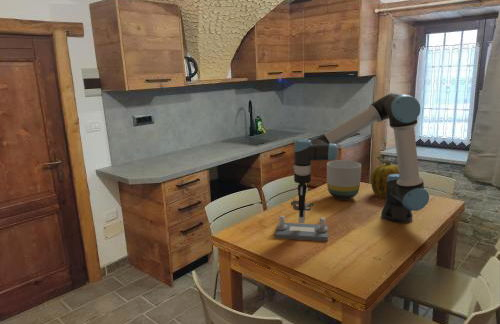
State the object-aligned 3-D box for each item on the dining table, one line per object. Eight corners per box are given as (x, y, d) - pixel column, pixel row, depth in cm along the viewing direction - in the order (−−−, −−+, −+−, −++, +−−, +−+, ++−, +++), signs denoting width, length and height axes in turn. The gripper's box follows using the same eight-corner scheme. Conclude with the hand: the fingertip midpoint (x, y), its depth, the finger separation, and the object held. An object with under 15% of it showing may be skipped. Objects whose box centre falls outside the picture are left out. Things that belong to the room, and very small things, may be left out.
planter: (363, 203, 218) (365, 167, 213) (329, 204, 219) (330, 168, 213) (354, 193, 237) (356, 159, 232) (323, 193, 237) (324, 160, 232)
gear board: (327, 228, 186) (327, 213, 184) (327, 241, 172) (328, 224, 171) (278, 226, 190) (278, 211, 188) (275, 238, 177) (274, 222, 175)
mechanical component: (312, 223, 178) (313, 203, 175) (290, 222, 180) (290, 202, 177) (313, 221, 180) (313, 201, 178) (291, 220, 182) (291, 200, 180)
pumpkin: (365, 192, 238) (367, 153, 232) (394, 190, 239) (397, 152, 234) (378, 202, 219) (380, 160, 214) (409, 200, 221) (412, 158, 215)
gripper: (295, 168, 183) (295, 214, 188) (292, 178, 168) (292, 227, 173) (311, 169, 181) (310, 215, 187) (309, 178, 166) (309, 228, 172)
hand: (301, 221), depth 180 cm, fingers closed on mechanical component, 3 cm apart
